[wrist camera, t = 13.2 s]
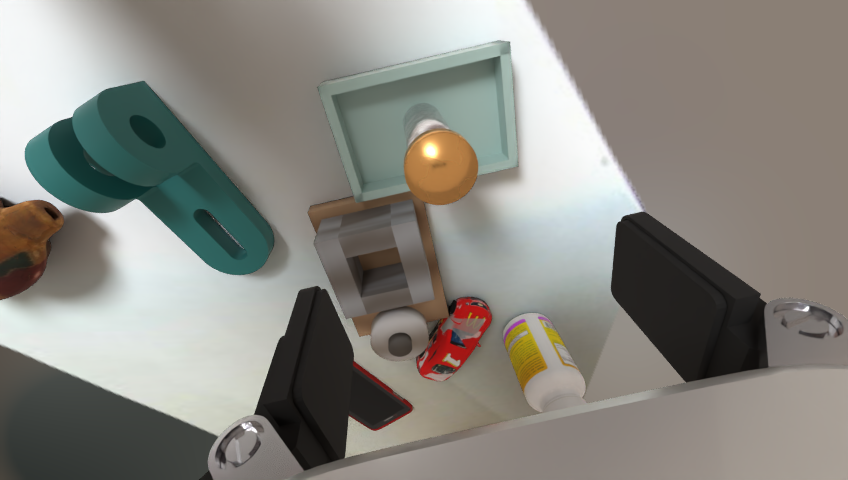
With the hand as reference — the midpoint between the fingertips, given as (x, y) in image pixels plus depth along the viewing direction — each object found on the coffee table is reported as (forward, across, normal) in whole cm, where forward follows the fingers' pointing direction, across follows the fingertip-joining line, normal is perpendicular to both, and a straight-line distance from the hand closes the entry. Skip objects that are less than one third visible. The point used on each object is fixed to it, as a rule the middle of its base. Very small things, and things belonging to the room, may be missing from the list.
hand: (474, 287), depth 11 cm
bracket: (+25, +22, +2) cm, 33 cm away
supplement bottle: (+24, -8, +29) cm, 39 cm away
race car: (+25, +1, +27) cm, 37 cm away
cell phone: (+25, +16, +35) cm, 46 cm away
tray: (+24, -1, 0) cm, 24 cm away
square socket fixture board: (+24, +6, +14) cm, 29 cm away
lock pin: (+23, 0, 0) cm, 23 cm away
